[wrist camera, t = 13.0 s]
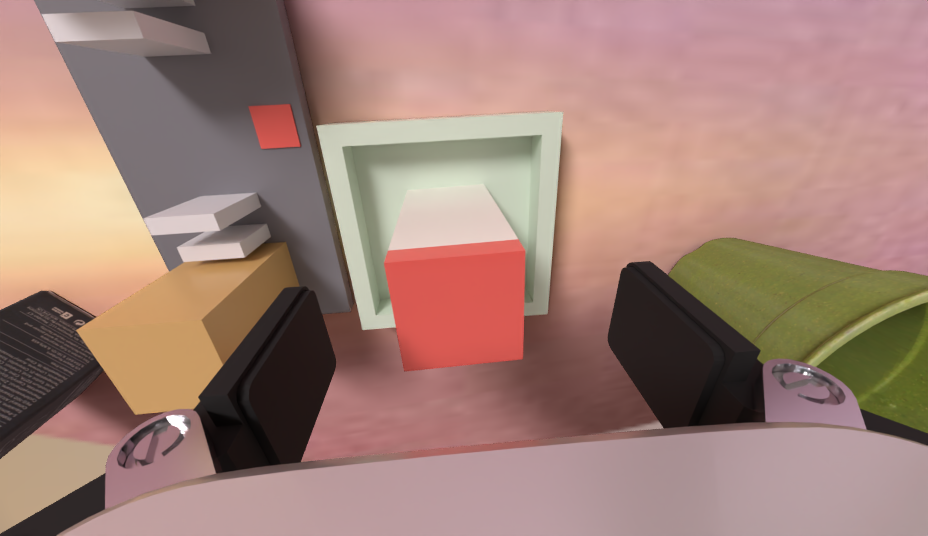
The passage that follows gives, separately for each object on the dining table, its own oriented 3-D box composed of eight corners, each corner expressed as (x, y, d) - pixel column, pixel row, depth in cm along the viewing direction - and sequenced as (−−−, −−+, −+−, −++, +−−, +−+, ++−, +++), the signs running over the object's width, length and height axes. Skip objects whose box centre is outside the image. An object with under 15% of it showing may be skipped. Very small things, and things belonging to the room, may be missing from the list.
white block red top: (483, 184, 20) (525, 250, 11) (486, 253, 22) (522, 359, 13) (407, 190, 19) (383, 263, 10) (416, 259, 21) (404, 371, 12)
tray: (547, 111, 19) (563, 111, 16) (537, 294, 24) (547, 314, 22) (330, 123, 18) (316, 125, 16) (369, 308, 23) (362, 330, 21)
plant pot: (777, 320, 27) (982, 449, 17) (633, 359, 28) (749, 505, 17) (804, 179, 22) (1125, 243, 12) (626, 230, 22) (784, 334, 12)
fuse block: (237, -198, 13) (-94, -707, 5) (353, 303, 23) (310, 410, 15) (-38, -196, 12) (-925, -760, 4) (205, 316, 23) (77, 432, 15)
